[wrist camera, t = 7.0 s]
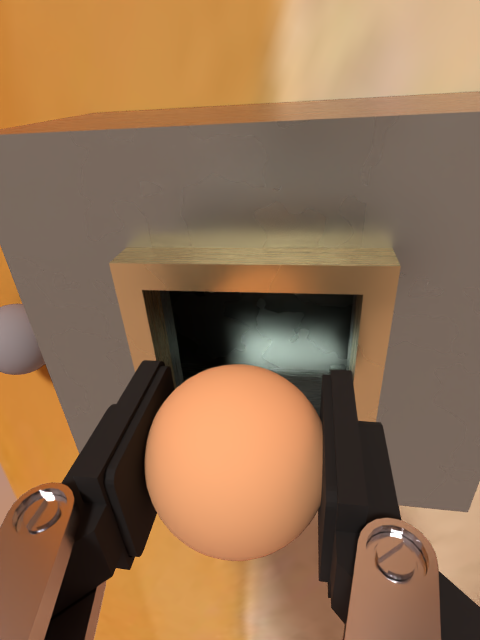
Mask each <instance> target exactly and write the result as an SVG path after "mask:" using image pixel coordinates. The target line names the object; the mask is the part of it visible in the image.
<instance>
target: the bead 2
mask: <svg viewBox="0 0 480 640" xmlns="http://www.w3.org/2000/svg"><path fill="white" fill-rule="evenodd" d="M322 464H323V433H322V422H321V419H320V417H319V416H318V414H317V412H316V410H315V408H314V407H313V405H312V404H311V403H310V401H309V400H308V399H307V398H306V396H305V395H304V394H303V393H302V392H301V391H300V390H299V389H298V388H297V387H296V386H295V385H293V384H292V383H291V382H289V381H288V380H287V379H285V378H284V377H282V376H280V375H278V374H277V373H274V372H272V371H270V370H267V369H264V368H261V367H257V366H252V365H244V364H231V365H223V366H218V367H214V368H210V369H207V370H205V371H202V372H200V373H198V374H196V375H194V376H193V377H191V378H189V379H187V380H186V381H185V382H183V383H182V384H181V385H180V386H178V387H177V388H176V389H175V390H174V391H173V392H172V393H171V394H170V395H169V396H168V398H167V399H166V400H165V401H164V403H163V404H162V406H161V407H160V409H159V410H158V412H157V414H156V416H155V418H154V420H153V422H152V425H151V428H150V430H149V433H148V437H147V442H146V448H145V457H144V471H145V479H146V485H147V489H148V492H149V495H150V498H151V501H152V504H153V506H154V508H155V510H156V511H157V513H158V515H159V517H160V519H161V520H162V521H163V523H164V524H165V525H166V526H167V528H168V529H169V530H170V531H171V532H172V533H173V534H174V535H175V536H176V537H177V538H178V539H179V540H181V541H182V542H183V543H184V544H186V545H187V546H189V547H190V548H192V549H194V550H195V551H197V552H199V553H202V554H204V555H207V556H210V557H213V558H217V559H223V560H231V561H244V560H251V559H256V558H260V557H264V556H267V555H269V554H272V553H274V552H276V551H278V550H280V549H281V548H283V547H285V546H286V545H288V544H289V543H290V542H292V541H293V540H294V539H295V538H297V537H298V536H299V535H300V534H301V533H302V532H303V531H304V529H305V528H306V527H307V526H308V525H309V524H310V522H311V521H312V519H313V518H314V516H315V514H316V513H317V511H318V509H319V507H320V504H321V492H322Z"/></svg>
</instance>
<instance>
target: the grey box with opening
mask: <svg viewBox="0 0 480 640" xmlns="http://www.w3.org/2000/svg"><path fill="white" fill-rule="evenodd" d="M0 245H1V248H2V250H3V253H4V256H5V258H6V261H7V264H8V266H9V269H10V272H11V274H12V277H13V280H14V282H15V285H16V287H17V290H18V293H19V295H20V298H21V301H22V303H23V306H24V309H25V311H26V314H27V316H28V319H29V322H30V324H31V327H32V330H33V332H34V335H35V338H36V340H37V343H38V345H39V348H40V351H41V353H42V356H43V359H44V361H45V364H46V367H47V369H48V372H49V375H50V377H51V380H52V382H53V385H54V388H55V390H56V393H57V396H58V398H59V401H60V404H61V406H62V409H63V411H64V414H65V417H66V419H67V422H68V425H69V427H70V430H71V433H72V435H73V438H74V440H75V443H76V446H77V448H78V451H79V454H80V452H81V451H82V449H83V448H84V446H85V444H86V443H87V441H88V440H89V438H90V436H91V435H92V433H93V431H94V430H95V428H96V427H97V425H98V423H99V422H100V420H101V419H102V417H103V415H104V414H105V412H106V410H107V409H108V408H109V407H110V406H111V405H112V404H117V402H118V400H119V399H120V397H121V395H122V394H123V392H124V390H125V389H126V387H127V385H128V384H129V382H130V380H131V379H132V377H133V375H134V374H135V372H136V370H137V369H138V367H139V365H140V364H141V362H142V361H144V360H152V361H163V362H164V363H165V366H169V367H170V368H171V372H172V377H173V383H174V388H175V389H176V388H177V387H178V386H180V385H181V384H182V383H183V382H185V381H186V380H187V379H189V378H191V377H193V376H194V375H196V374H198V373H200V372H202V371H205V370H207V369H210V368H214V367H218V366H223V365H231V364H244V365H252V366H257V367H261V368H264V369H267V370H270V371H272V372H274V373H277V374H278V375H280V376H282V377H284V378H285V379H287V380H288V381H289V382H291V383H292V384H293V385H295V386H296V387H297V388H298V389H299V390H300V391H301V392H302V393H303V394H304V395H305V396H306V398H307V399H308V400H309V401H310V403H311V404H312V405H313V407H314V408H315V410H316V412H317V414H318V416H319V417H320V404H321V388H322V375H323V374H324V375H330V370H331V369H332V370H351V371H352V377H353V385H354V393H355V401H356V409H357V417H358V421H368V422H381V423H382V425H383V429H384V434H385V439H386V444H387V449H388V454H389V460H390V465H391V470H392V475H393V480H394V485H395V490H396V496H397V501H398V505H402V506H411V507H421V508H431V509H441V510H451V511H460V512H468V510H469V508H470V505H471V502H472V500H473V497H474V494H475V492H476V489H477V487H478V484H479V481H480V92H465V93H447V94H429V95H410V96H392V97H374V98H356V99H338V100H320V101H302V102H284V103H266V104H248V105H230V106H212V107H194V108H176V109H158V110H140V111H122V112H104V113H91V114H86V115H80V116H74V117H68V118H63V119H57V120H51V121H46V122H40V123H34V124H28V125H23V126H17V127H11V128H6V129H0Z"/></svg>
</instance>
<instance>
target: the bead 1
mask: <svg viewBox="0 0 480 640" xmlns="http://www.w3.org/2000/svg"><path fill="white" fill-rule="evenodd" d="M44 364H45V361H44V359H43V356H42V353H41V351H40V348H39V345H38V343H37V340H36V338H35V335H34V332H33V330H32V327H31V324H30V322H29V319H28V316H27V314H26V311H25V309H24V306H23V304H10V305H6V306H2V307H0V372H2V373H6V374H12V375H19V374H26V373H30V372H33V371H35V370H37V369H39V368H40V367H42V366H43V365H44Z"/></svg>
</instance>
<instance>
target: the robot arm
mask: <svg viewBox="0 0 480 640" xmlns="http://www.w3.org/2000/svg"><path fill="white" fill-rule="evenodd" d="M174 390H175V388H174V383H173V377H172V372H171V368H170V367H169V366H165V363H164V362H163V361H152V360H144V361H142V362H141V364H140V365H139V367H138V369H137V370H136V372H135V374H134V375H133V377H132V379H131V380H130V382H129V384H128V385H127V387H126V389H125V390H124V392H123V394H122V395H121V397H120V399H119V400H118V402H117V404H112V405H111V406H110V407H109V408H108V409H107V410H106V412H105V414H104V415H103V417H102V419H101V420H100V422H99V423H98V425H97V427H96V428H95V430H94V431H93V433H92V435H91V436H90V438H89V440H88V441H87V443H86V444H85V446H84V448H83V449H82V451H81V452H80V454H79V456H78V457H77V459H76V461H75V462H74V464H73V465H72V467H71V469H70V470H69V472H68V473H67V475H66V477H65V478H64V480H63V482H62V483H47V484H42V485H39V486H37V487H35V488H32V489H30V490H29V491H28V492H26V493H25V494H23V495H22V496H21V497H20V498H19V499H18V500H17V501H16V502H15V503H14V504H13V505H12V507H11V508H10V510H9V511H8V513H7V515H6V517H5V519H4V521H3V523H2V525H1V527H0V640H94V636H95V632H96V627H97V623H98V618H99V613H100V609H101V604H102V600H103V595H104V591H105V586H106V580H108V579H109V578H111V577H112V576H113V574H114V571H115V569H116V568H120V569H127V570H130V569H131V566H132V563H133V560H134V558H135V557H140V556H141V554H142V553H143V550H144V548H145V545H146V542H147V539H148V537H149V534H150V531H151V528H152V525H153V523H154V520H155V517H156V514H157V511H156V510H155V508H154V506H153V504H152V501H151V498H150V495H149V492H148V489H147V485H146V479H145V471H144V457H145V448H146V442H147V437H148V433H149V430H150V428H151V425H152V422H153V420H154V418H155V416H156V414H157V412H158V410H159V409H160V407H161V406H162V404H163V403H164V401H165V400H166V399H167V398H168V396H169V395H170V394H171V393H172V392H173V391H174ZM320 419H321V422H322V433H323V464H322V492H321V504H320V507H319V509H318V547H319V581H322V582H328V598H331V608H332V609H333V610H334V612H335V613H336V614H337V615H338V616H339V618H340V619H341V620H342V621H343V622H344V624H345V626H344V633H343V640H480V607H479V606H478V605H477V604H476V603H474V602H473V601H472V600H471V599H470V598H469V597H468V596H467V595H465V594H464V593H463V592H462V591H461V590H460V589H459V588H457V587H456V586H455V585H454V584H453V583H452V582H451V581H450V580H448V579H447V578H446V577H445V576H444V575H443V574H442V573H440V572H439V571H438V562H437V557H436V553H435V551H434V549H433V547H432V545H431V543H430V542H429V541H428V539H427V538H426V537H425V536H424V535H423V534H422V533H421V532H420V531H419V530H417V529H416V528H415V527H413V526H412V525H410V524H408V523H406V522H403V521H401V516H400V511H399V506H398V501H397V496H396V490H395V485H394V480H393V475H392V470H391V465H390V460H389V454H388V449H387V444H386V439H385V434H384V429H383V425H382V423H381V422H368V421H358V417H357V409H356V401H355V393H354V385H353V377H352V371H351V370H332V369H331V370H330V375H324V374H323V375H322V388H321V404H320Z"/></svg>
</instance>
